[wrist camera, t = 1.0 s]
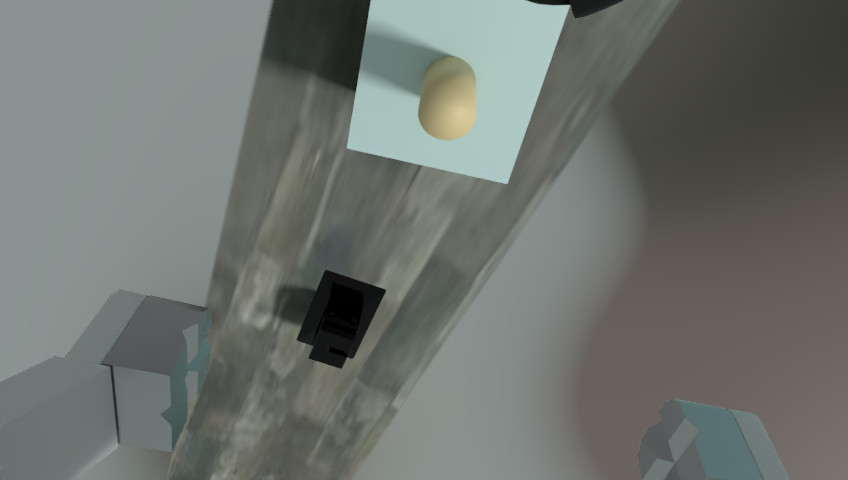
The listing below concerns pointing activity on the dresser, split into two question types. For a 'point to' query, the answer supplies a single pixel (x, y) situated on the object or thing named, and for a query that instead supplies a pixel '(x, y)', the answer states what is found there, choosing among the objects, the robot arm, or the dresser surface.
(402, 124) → the lid
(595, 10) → the travel mug
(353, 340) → the black stepped block
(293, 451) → the dresser surface
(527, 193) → the dresser surface
